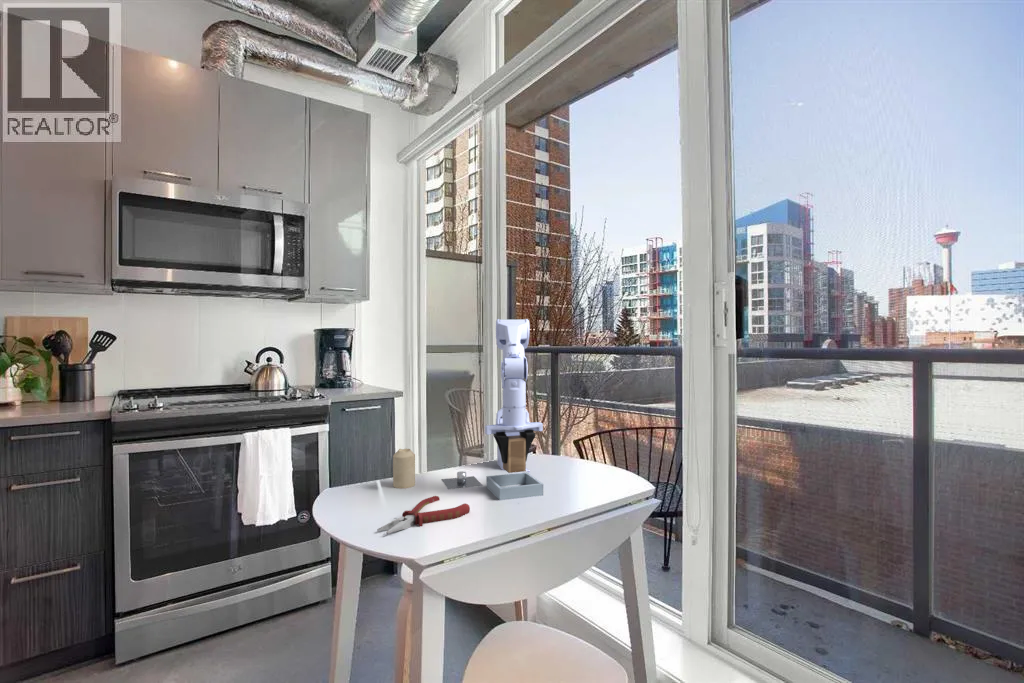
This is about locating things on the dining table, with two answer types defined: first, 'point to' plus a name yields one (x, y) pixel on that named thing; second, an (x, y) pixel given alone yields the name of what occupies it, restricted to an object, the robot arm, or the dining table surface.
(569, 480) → the dining table surface
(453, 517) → the pliers
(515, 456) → the brown block
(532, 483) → the bin
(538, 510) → the dining table surface
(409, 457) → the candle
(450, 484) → the base
